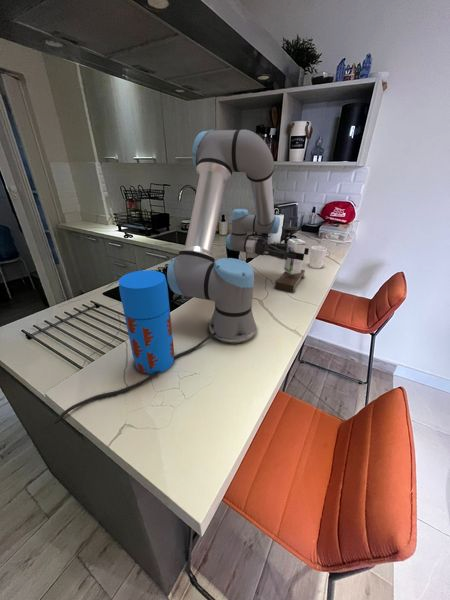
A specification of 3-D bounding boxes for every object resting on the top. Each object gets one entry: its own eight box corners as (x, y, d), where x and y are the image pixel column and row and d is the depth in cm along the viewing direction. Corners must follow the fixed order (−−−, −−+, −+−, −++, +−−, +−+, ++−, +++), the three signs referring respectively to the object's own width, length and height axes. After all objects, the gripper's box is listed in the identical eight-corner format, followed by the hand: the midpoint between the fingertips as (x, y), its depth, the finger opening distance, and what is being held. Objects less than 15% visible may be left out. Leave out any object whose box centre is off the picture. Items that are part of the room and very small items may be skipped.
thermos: (158, 343, 78) (148, 266, 66) (182, 358, 72) (175, 277, 60) (127, 362, 71) (108, 279, 59) (150, 381, 65) (135, 293, 53)
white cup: (321, 263, 141) (325, 246, 137) (324, 269, 134) (328, 250, 130) (306, 263, 142) (309, 245, 137) (309, 268, 135) (312, 250, 130)
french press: (274, 257, 150) (279, 216, 139) (279, 252, 157) (284, 214, 146) (294, 260, 145) (300, 219, 134) (298, 256, 152) (305, 216, 141)
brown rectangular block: (292, 292, 110) (293, 285, 108) (274, 288, 113) (275, 281, 111) (303, 276, 125) (305, 270, 123) (287, 273, 128) (288, 267, 127)
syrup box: (283, 269, 119) (287, 239, 112) (294, 268, 121) (299, 238, 113) (289, 274, 114) (294, 242, 107) (301, 273, 116) (306, 241, 109)
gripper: (264, 248, 130) (309, 255, 121) (247, 260, 114) (298, 270, 105) (265, 233, 127) (312, 240, 117) (248, 243, 111) (301, 252, 101)
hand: (305, 254), depth 111 cm, fingers closed on syrup box, 8 cm apart
